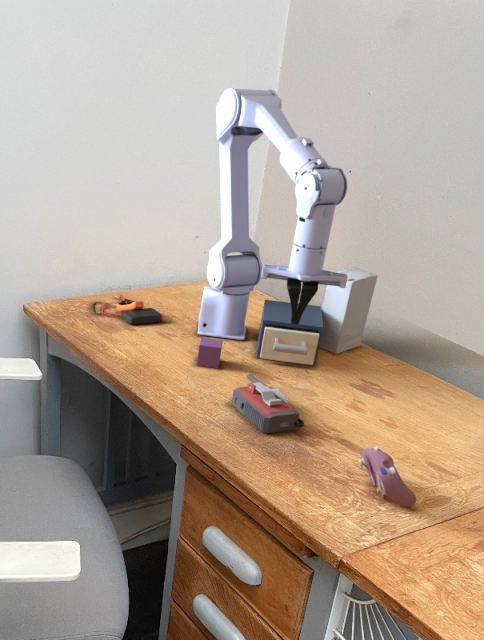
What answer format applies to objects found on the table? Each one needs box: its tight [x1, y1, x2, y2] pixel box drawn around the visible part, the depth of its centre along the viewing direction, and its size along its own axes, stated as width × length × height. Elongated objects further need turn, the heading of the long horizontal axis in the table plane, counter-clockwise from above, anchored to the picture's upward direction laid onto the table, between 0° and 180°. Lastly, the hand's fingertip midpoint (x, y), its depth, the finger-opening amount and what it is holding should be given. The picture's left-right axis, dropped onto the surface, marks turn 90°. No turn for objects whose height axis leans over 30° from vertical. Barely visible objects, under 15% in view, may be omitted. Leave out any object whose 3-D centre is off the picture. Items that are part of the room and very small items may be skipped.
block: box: [196, 337, 223, 369], centre depth 144 cm, size 4×4×4 cm
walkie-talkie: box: [230, 373, 305, 434], centre depth 129 cm, size 9×4×20 cm
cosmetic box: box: [319, 266, 379, 355], centre depth 153 cm, size 8×6×15 cm
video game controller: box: [358, 445, 417, 508], centre depth 108 cm, size 10×5×7 cm, turn 5°
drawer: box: [259, 325, 319, 366], centre depth 147 cm, size 16×10×6 cm, turn 169°
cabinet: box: [255, 299, 323, 367], centre depth 151 cm, size 13×11×8 cm
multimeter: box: [92, 294, 163, 325], centre depth 166 cm, size 18×12×3 cm, turn 21°
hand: (294, 322), depth 140 cm, fingers closed
